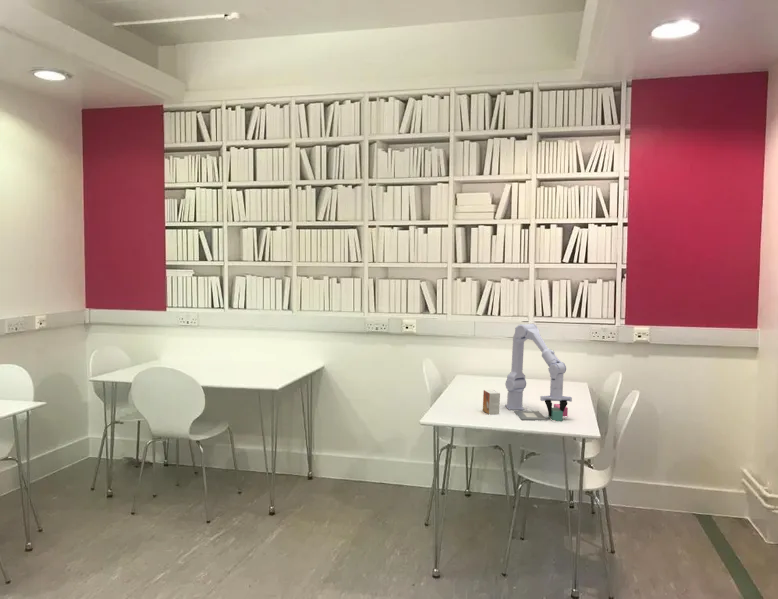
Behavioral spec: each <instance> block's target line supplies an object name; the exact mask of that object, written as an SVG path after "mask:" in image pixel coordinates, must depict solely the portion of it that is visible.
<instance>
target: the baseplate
mask: <svg viewBox="0 0 778 599" xmlns="http://www.w3.org/2000/svg"><path fill="white" fill-rule="evenodd" d="M513 412H514V413H515V414H516V416H517V415H518V416H519V417H518V416H517V417H518V418H519V419H520V420H521V421H535V420H547V421H548V419H547V418H546V417H545V416H544V415H543V414H542V413H541V412H540V411H538V410H535V411H534V410H513Z"/></svg>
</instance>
